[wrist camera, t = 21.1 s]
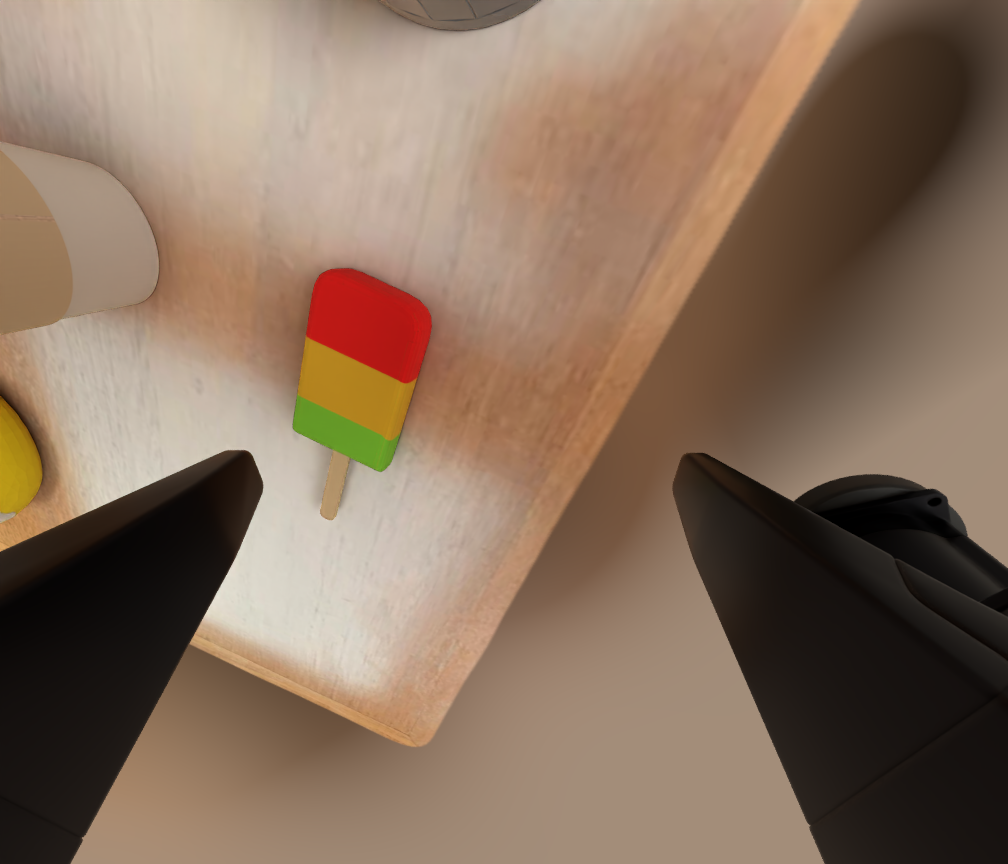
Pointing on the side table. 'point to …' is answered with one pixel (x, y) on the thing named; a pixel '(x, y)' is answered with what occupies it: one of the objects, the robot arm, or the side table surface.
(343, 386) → the popsicle
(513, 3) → the bowl
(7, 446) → the donut
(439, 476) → the side table surface
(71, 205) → the coffee cup
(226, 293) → the side table surface
